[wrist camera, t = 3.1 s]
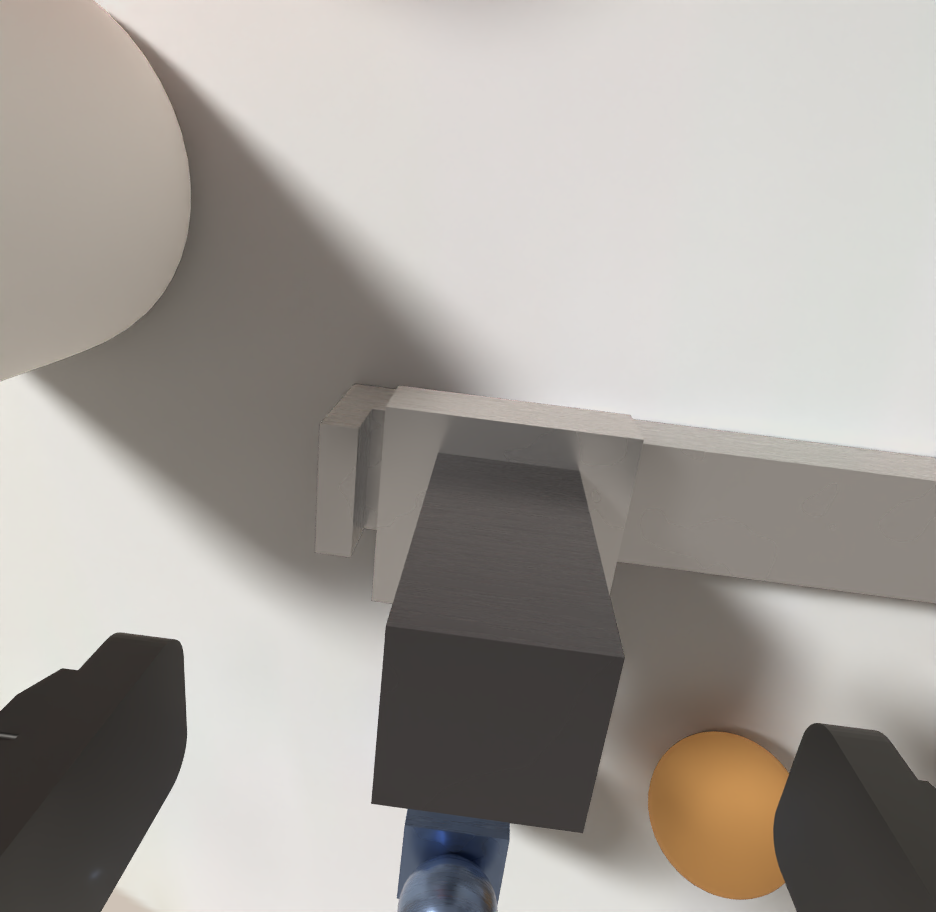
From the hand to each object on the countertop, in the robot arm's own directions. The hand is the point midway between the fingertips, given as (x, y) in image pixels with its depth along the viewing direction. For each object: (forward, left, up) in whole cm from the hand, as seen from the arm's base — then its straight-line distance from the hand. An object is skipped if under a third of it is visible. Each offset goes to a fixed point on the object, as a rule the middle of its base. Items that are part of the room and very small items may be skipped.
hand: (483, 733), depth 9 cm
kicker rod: (+4, 0, -9) cm, 9 cm away
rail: (0, +6, -9) cm, 11 cm away
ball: (+8, +7, -7) cm, 13 cm away
